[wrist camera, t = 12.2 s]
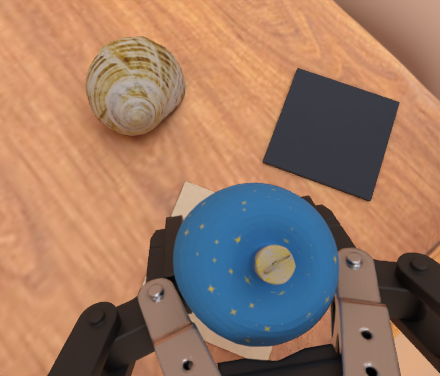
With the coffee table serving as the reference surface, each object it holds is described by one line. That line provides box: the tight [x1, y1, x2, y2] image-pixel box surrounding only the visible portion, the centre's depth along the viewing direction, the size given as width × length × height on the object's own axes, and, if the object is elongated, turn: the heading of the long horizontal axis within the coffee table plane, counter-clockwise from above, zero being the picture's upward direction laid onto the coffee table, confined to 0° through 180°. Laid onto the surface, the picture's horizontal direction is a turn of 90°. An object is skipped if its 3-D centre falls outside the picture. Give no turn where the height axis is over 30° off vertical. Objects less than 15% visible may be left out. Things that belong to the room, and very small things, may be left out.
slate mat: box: [263, 68, 399, 201], centre depth 36 cm, size 12×12×1 cm
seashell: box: [86, 37, 185, 136], centre depth 33 cm, size 10×10×10 cm
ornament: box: [173, 183, 339, 347], centre depth 14 cm, size 5×5×15 cm
